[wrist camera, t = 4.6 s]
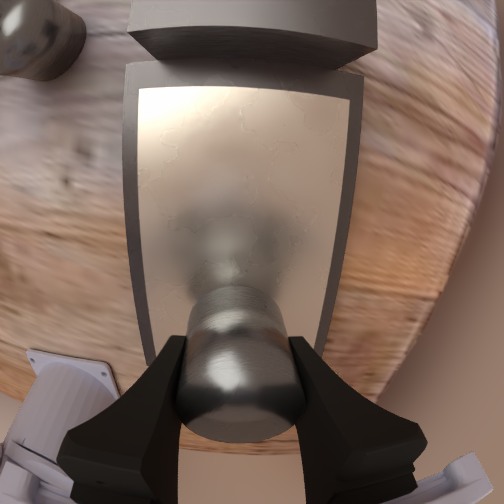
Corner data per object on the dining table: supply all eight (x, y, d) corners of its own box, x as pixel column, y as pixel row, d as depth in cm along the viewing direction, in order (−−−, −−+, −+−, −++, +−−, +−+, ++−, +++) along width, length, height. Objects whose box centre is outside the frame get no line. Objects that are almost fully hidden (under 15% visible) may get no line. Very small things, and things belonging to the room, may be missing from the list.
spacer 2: (281, 357, 15) (300, 437, 10) (195, 362, 14) (188, 444, 10) (283, 282, 13) (311, 361, 8) (181, 288, 13) (161, 370, 8)
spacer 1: (81, 73, 12) (29, 58, 7) (22, 87, 11) (-33, 85, 7) (91, 5, 10) (49, -26, 5) (32, 24, 10) (-16, 6, 5)
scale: (313, 350, 20) (337, 418, 14) (151, 349, 19) (132, 419, 13) (352, 17, 12) (407, -24, 6) (144, 4, 11) (106, -48, 5)
